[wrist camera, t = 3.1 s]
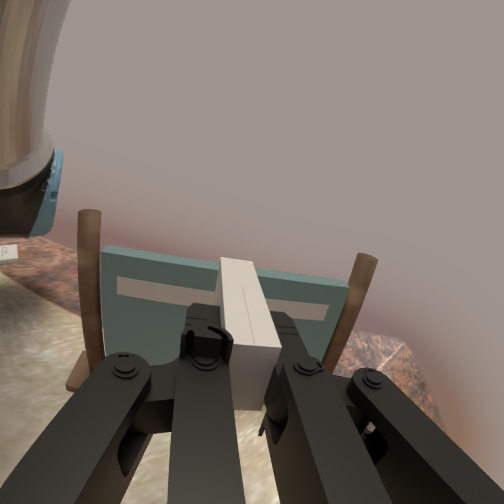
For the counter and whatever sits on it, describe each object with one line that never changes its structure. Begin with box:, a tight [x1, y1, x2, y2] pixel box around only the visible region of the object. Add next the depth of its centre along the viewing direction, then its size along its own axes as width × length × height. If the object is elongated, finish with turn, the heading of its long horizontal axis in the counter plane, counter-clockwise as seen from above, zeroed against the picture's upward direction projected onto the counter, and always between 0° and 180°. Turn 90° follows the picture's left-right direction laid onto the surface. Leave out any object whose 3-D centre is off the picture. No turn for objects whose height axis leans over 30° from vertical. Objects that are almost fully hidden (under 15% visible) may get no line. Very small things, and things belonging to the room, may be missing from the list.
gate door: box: [101, 245, 350, 366], centre depth 25 cm, size 21×2×14 cm, turn 97°
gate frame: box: [66, 209, 378, 392], centre depth 25 cm, size 30×6×18 cm, turn 97°
